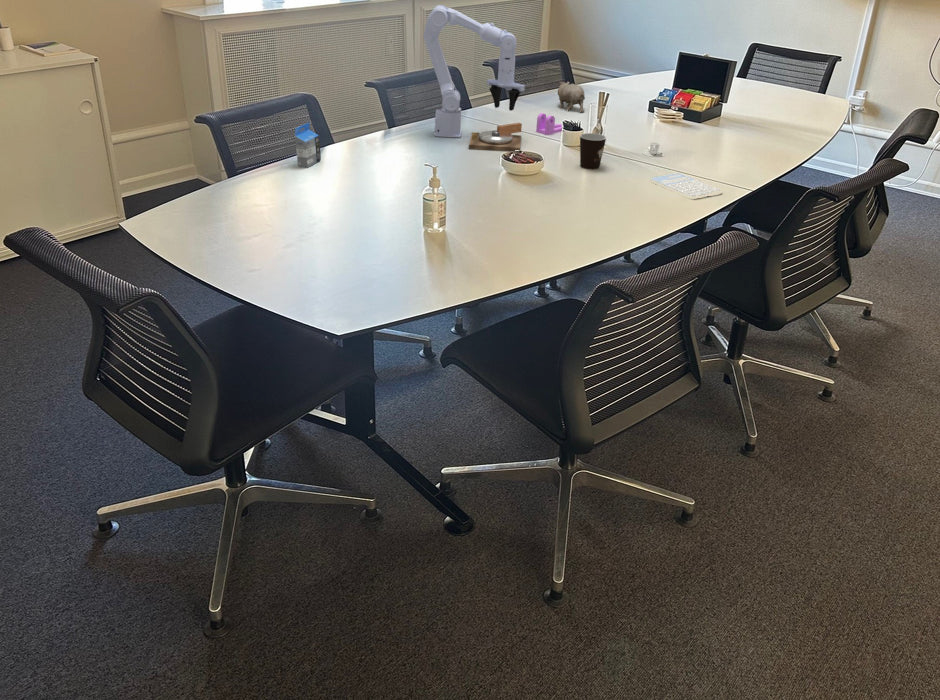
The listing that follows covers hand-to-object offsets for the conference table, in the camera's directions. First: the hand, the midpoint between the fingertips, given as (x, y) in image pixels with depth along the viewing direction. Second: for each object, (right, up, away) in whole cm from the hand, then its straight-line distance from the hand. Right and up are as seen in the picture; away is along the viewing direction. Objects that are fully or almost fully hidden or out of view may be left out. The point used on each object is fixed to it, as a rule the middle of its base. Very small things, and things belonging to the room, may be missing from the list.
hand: (504, 108), depth 295 cm
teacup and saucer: (+56, -18, -4) cm, 59 cm away
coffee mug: (+29, -26, -21) cm, 44 cm away
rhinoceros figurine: (+29, +14, +48) cm, 58 cm away
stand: (-3, -14, -3) cm, 14 cm away
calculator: (+56, -37, -37) cm, 76 cm away
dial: (-1, -11, -3) cm, 12 cm away
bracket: (+19, -4, +16) cm, 25 cm away
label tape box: (-65, -27, -31) cm, 77 cm away
